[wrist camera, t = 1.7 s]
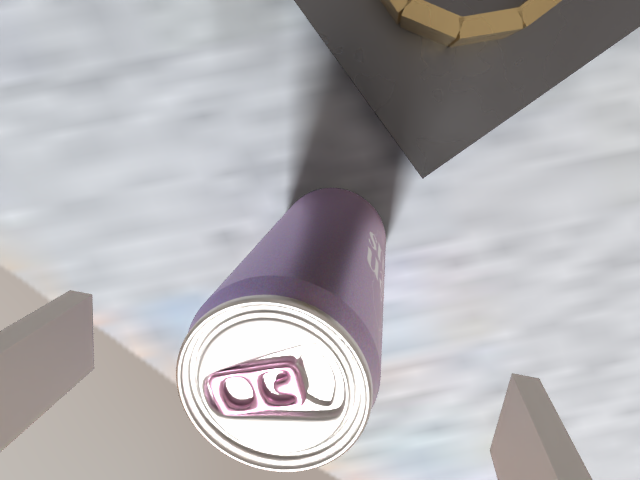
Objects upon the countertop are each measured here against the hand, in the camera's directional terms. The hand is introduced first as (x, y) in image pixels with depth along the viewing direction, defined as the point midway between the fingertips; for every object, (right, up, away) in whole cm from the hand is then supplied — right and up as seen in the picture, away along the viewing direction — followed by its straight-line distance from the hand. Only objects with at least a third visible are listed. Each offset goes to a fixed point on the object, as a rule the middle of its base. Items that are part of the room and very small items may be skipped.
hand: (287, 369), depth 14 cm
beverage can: (+2, +4, +13) cm, 14 cm away
